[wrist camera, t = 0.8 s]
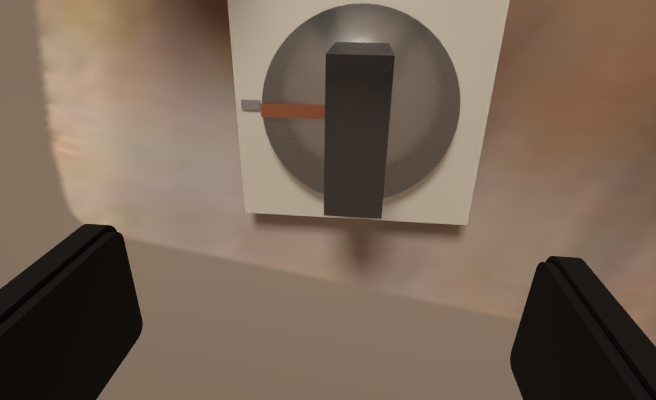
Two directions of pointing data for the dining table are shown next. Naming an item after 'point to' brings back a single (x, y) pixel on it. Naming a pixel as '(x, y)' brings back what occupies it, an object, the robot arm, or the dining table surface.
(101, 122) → the dining table surface
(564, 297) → the robot arm
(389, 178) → the dial
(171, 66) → the dining table surface
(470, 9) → the dial base
